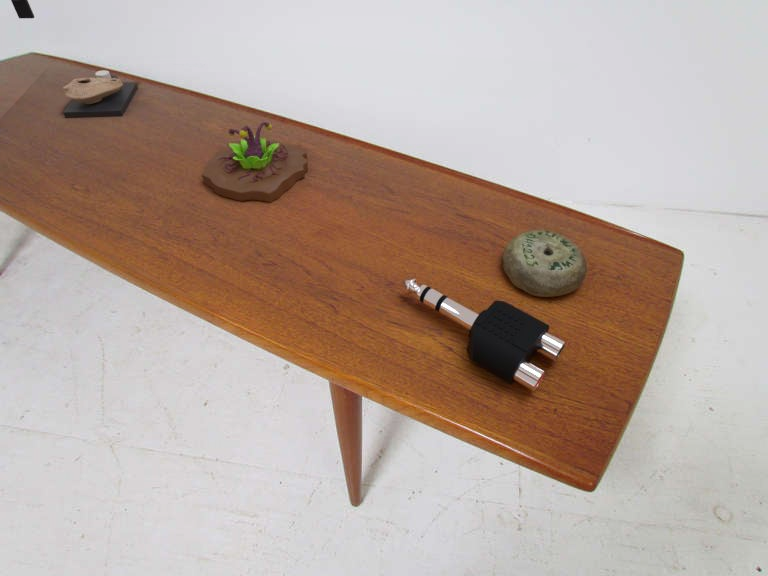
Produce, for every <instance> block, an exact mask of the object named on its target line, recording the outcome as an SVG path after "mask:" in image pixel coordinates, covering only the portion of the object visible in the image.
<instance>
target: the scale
mask: <svg viewBox="0 0 768 576" xmlns="http://www.w3.org/2000/svg"><path fill="white" fill-rule="evenodd" d="M110 76H111V78H117V79H119V77H118V76H117V75H115V74H110ZM94 78H97V77H96V76H95V77H94ZM122 83H123V86H122V87H121V89H120V90H119V91H118V92H116V93H113V94H111V95H109V96H106V97H103V98H102V100H101V101H99V102H96V103H93V104H84V103H82V102H78V101H75V100H73V99H71V101H70V102H69V104H68V105H67V106H66V108H65V109H64V110H63V111H62V114H63V116H64V118H65V119H80V118H81V119H82V118H83V119H84V118H110V117H111V118H112V117H115V118H116V117H124V115H125V112H126V111H127V110H128V108H129V106H130V103H131V102H132V100H133V98H134V97H135V95H136V93H137V91H138V89H139V86H138V83H137V82H122Z"/></svg>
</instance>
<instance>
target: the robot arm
mask: <svg viewBox="0 0 768 576" xmlns="http://www.w3.org/2000/svg"><path fill="white" fill-rule="evenodd" d="M10 1H11V3H12V6H13V8H14V10H15V13H16V15H17V17H18V19H34V18H35V15H34V12H33V9H32V7H31V5H30V3H29V0H10Z"/></svg>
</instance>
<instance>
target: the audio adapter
mask: <svg viewBox="0 0 768 576" xmlns="http://www.w3.org/2000/svg"><path fill="white" fill-rule="evenodd" d="M401 285H402V286H403V288H404V291H405V293H406V295H412V294H415V300H417V301H418V302H420V303H422V304H423V305H425V306H426V307H429V308H430V309H432V310H433V311H436V312H437V313H439V314H441V316H444V317H446V318H447V319H449V320H451V321H453V322H455V323H456V324H458V325H460V326H461V327H463V328H465V329H466V330H468V331H469V332H468V342H467V346H466V352H467V357H468V359H469V360H470V361H471V362H473V363H475V364H476V365H478V366H479V367H481V368H483V369H484V370H486V371H487V372H489V373H491V374H493V375H494V376H496V377H497V378H499V379H500V380H502V381H504V382H505V383H507V384H509V385H512V384H513V383H514V382H517V383H518V384H520V385H522V386H524V387H525V388H527V389H528V390H530V391H531V392H535V390H536V389H537V388H538V387H539V385H540V383H541V382H542V380H543V378H544V376H545V373H546V371H545V370H544V369H542V368H541V367H539V366H537V365H535V364H533V363H532V362H530V361H531V360H532V359H533V358H534V356H535V355H536V353H539V354H541V355H542V356H544V357H546V358H548V359H549V360H551V361H553V362H556V361H557V359H559V356H561V354H562V352H563V350H564V348H565V346H566V344H567V342H566V341H565V340H563V339H562V338H560V337H557V336H556V335H554V334H552V333H550V332H549V330H550V324H548V323H546V322H544V321H542V320H540V319H539V318H536V317H535V316H533V315H531V314H529V313H527V312H526V311H523V310H521V308H520V309H519V308H518V307H516V306H514V305H513V304H510V303H509V302H506V301H503V300H494V301H493V302H492V303H491V304H490V305H489V306H488V307H487V308H486V309H483V310H482V311H481V312H479V313H478V312H476V311H474V310H473V309H471V308H469V307H468V306H465V305H464V304H462V303H460V302H458V301H457V300H456V299H455V300H454V299H453V298H451V297H449V296H447V295H446V294H444V293H442V292H440V291H438V290H437V289H435V288H433V287H431V286H430V285H428V284H425V283H424V284H422V285H419V284H418V279H417V278H409V279H403V280H401Z"/></svg>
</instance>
